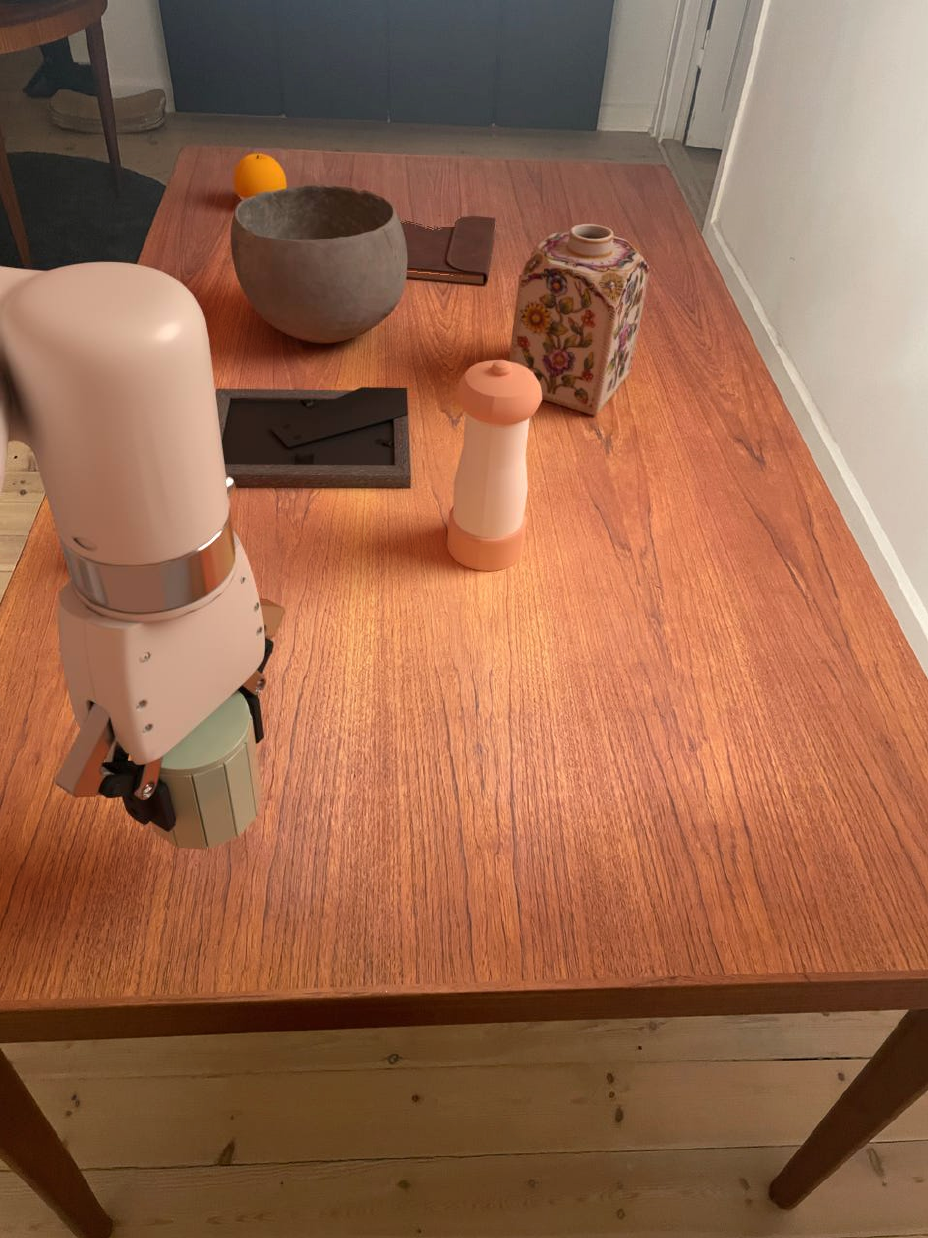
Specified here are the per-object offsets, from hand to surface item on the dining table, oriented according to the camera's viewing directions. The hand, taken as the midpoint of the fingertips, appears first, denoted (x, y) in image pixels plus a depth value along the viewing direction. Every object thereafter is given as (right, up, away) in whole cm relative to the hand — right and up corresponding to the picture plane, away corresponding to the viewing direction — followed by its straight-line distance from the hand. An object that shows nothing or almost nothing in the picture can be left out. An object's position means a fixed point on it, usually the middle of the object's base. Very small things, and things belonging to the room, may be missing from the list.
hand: (198, 771), depth 55 cm
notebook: (+13, +63, +79) cm, 101 cm away
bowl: (-2, +46, +60) cm, 75 cm away
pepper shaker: (+18, +16, +32) cm, 40 cm away
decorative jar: (+28, +37, +54) cm, 72 cm away
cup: (-2, -2, +3) cm, 3 cm away
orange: (-16, +74, +87) cm, 115 cm away
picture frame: (-1, +28, +42) cm, 51 cm away
